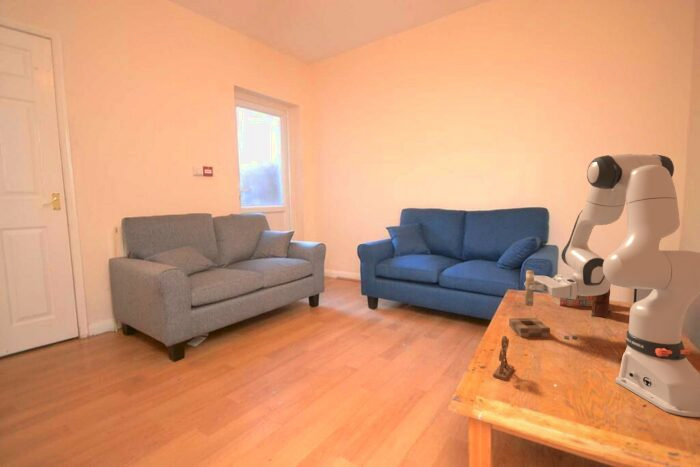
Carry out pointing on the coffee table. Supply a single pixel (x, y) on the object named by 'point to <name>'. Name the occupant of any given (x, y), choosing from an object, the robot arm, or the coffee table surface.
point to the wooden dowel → (528, 291)
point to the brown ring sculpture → (503, 362)
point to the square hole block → (529, 327)
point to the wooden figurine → (601, 304)
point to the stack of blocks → (574, 301)
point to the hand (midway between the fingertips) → (527, 285)
